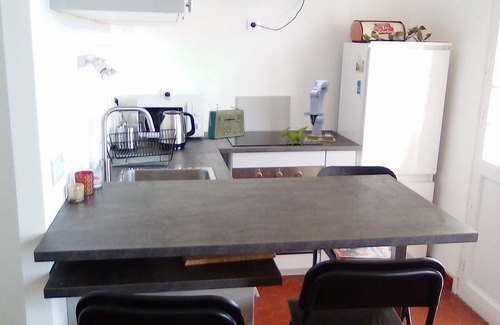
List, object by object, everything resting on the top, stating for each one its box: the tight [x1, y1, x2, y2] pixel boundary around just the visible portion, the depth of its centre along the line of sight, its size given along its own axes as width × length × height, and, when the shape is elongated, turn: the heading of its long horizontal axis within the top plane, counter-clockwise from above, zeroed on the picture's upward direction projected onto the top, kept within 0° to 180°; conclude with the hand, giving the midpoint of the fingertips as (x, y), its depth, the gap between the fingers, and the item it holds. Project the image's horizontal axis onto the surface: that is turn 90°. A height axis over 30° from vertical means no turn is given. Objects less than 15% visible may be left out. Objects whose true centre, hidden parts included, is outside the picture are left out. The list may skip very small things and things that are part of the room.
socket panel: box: [303, 133, 336, 144], centre depth 351 cm, size 12×22×4 cm, turn 81°
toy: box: [280, 125, 309, 146], centre depth 333 cm, size 8×21×15 cm, turn 115°
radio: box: [207, 103, 246, 140], centre depth 354 cm, size 30×8×25 cm, turn 131°
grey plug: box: [324, 132, 332, 137], centre depth 350 cm, size 4×4×4 cm
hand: (313, 125), depth 354 cm, fingers closed
